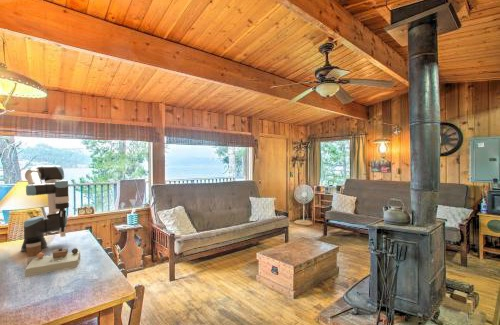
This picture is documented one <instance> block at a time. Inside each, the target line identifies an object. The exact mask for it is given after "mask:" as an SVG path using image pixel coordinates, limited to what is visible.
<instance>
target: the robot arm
mask: <svg viewBox="0 0 500 325" xmlns="http://www.w3.org/2000/svg"><path fill="white" fill-rule="evenodd" d="M24 178H25V180H26V181H27V183H28V184H27V185H26V186H25V193H26V194H25V195H26V196H29V197H30V196H31V197H32V196H42V195H47V200H48V201H47V202H48V213H47V214H46V217H44V216H43V215H42V216H35V217H30V218H28V219H25V220H24V222H23V242H22V244H21V247H20V248H21V249H20V250H21V252H26V253H27V250H26V244H25V242H26V240H27V239H29V238H35V237H41V240H42V241H41V250H43V249H45V248H47V247H48V243H47V241H46V239H45V234H47V233H51V232H53V233H54V232H60V238H63V237H64V238H65V237H66V235H67V234H66V229H67V228H66V227H67V224H68V215H67V210H66V209H68V208H69V207H70V206H69V204H70V203H69V200H70V198H69V196H70V195H69V182H68V180H67V179H65V172H64V168H63V167H62V165H55V164H54V165H53V164H52V165H35V166H33V167H30V168H28V170H26V172H25V173H24ZM63 179H65V180H63ZM42 181H44V183H43V182H42Z"/></svg>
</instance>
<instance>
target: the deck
mask: <svg viewBox="0 0 500 325" xmlns="http://www.w3.org/2000/svg"><path fill="white" fill-rule="evenodd" d="M80 259H81V250H78V252H77V253H76V254H73V253H72V251H71V252H68V253H67V255H66V256H60V257H54V258H53V254H51V255H44V256H43V257H42V258H33V260H32V261H31V262H28V265H27V266H26V267H25V268H24V276H25V277H26V276H33V275H40V274H44V273H49V272H55V271H60V270H66V269H72V268H77V267H78V265H79V262H80ZM57 260H59V261H57Z"/></svg>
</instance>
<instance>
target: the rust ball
mask: <svg viewBox="0 0 500 325" xmlns="http://www.w3.org/2000/svg"><path fill="white" fill-rule="evenodd" d="M43 256H45V253H44V252H40V253H39V254H37V258H42V257H43Z"/></svg>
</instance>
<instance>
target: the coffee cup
mask: <svg viewBox="0 0 500 325" xmlns="http://www.w3.org/2000/svg"><path fill="white" fill-rule="evenodd" d="M41 241H42V240H41V237H35V238H29V239H27V240H26V242H25V244H26V250H27V252H26V255H27V262H28V263H30V262H31V261H32V260H33V258H37V254H39V253H41V250H42V249H41Z"/></svg>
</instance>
